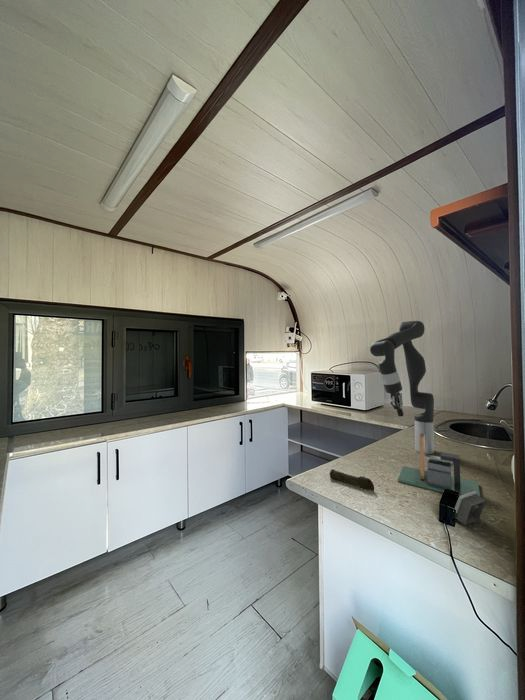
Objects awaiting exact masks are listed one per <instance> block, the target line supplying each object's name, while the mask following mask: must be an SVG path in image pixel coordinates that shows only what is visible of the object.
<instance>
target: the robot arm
mask: <svg viewBox="0 0 525 700" xmlns="http://www.w3.org/2000/svg"><path fill="white" fill-rule="evenodd" d="M425 330H426V329H425V325H424V322H422V321H420V320H409V321H402V322H400V324H399V329H398V331H396V332H394V333H392V334H389V335H388V336H386V337H385V338H382V339H380V340H376V341H374V342H372V344H371V345H370V347H369V351H370V354H371V355H373V356H374V357H384V360H381V361H379V362H378V368H379V371H380V376H381V380H382V384H383V388H384V391H385V393H388V394H390V395H389V397H390V400H391V401H390V405H391V406H392V408H393V409H394V410H396V413H397V416H398V417H404V415H405V414H404V411H403V405H404V403H403V396H402V395H403V393H401V391H402V390H403V386H402V381H401V377H400V376H399V372H398V370H397V367H396V363H395V350H396V349H398V348H399V347H401V346H402V349H403V352H404V358H405V359H404V360H405V366H406V372H407V377H408V384H409V394H410V395H409V396H410V403H411V406H412V407H413V408H415V409H421V410H424V412H422V413H417V414H414V417H413V418H414V419H413V420H414V449H415V450H414V451H416V452H417V453H420V443H419V436H420V434H421V433H422V434H425V454H427V455H432V454H434V453H435V440H434V438H435V435H434V434H435V433H434V432H435V431H434V430H435V429H434V415H435V412H434V411H435V409H434V408H435V399H434V395H433V393H431V392H421V391H420V392H419V385H420V382H421V381H422V380H423V378H424V376H425V375H426V373H427V368H426V361H425V358H424V356H423V355H422V353H420V352H419V351H418V349H417V348H416V347H415V346H414V344H413V340H415V339H419V338H421V337H422V336H423V335H424V334H425Z"/></svg>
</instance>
